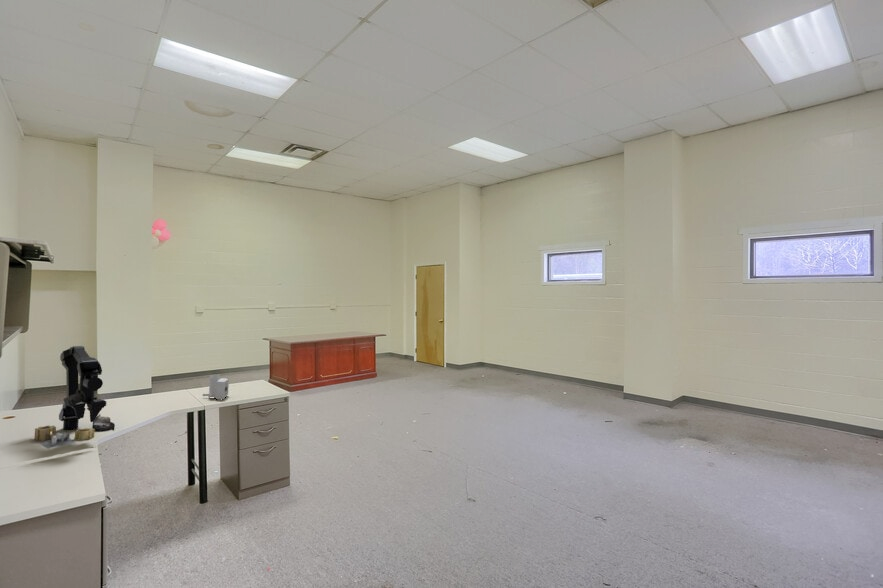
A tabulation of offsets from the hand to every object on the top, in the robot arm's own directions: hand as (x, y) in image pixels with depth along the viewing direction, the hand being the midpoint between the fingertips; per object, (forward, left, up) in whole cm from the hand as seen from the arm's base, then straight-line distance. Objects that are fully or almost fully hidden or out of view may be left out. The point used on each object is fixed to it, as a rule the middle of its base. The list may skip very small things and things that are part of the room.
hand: (85, 420), depth 202 cm
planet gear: (0, 0, -9) cm, 9 cm away
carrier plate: (-4, -10, -9) cm, 14 cm away
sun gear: (-4, -8, -8) cm, 12 cm away
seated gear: (-10, -12, -8) cm, 17 cm away
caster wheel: (-11, +11, -10) cm, 18 cm away
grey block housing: (-42, +82, -10) cm, 93 cm away
